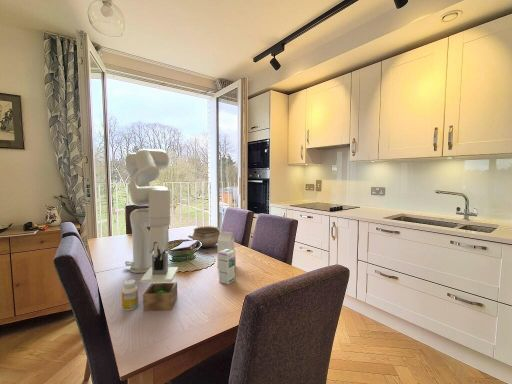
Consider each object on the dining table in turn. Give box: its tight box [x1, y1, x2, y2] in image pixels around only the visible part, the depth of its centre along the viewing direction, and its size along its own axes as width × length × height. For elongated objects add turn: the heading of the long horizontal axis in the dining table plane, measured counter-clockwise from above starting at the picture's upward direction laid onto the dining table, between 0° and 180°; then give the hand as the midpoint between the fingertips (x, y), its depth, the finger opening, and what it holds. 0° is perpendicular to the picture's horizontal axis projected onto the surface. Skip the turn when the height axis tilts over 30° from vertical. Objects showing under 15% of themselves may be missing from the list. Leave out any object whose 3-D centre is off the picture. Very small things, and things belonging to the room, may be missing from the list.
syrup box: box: [218, 249, 237, 285], centre depth 115 cm, size 6×6×14 cm
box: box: [142, 281, 178, 312], centre depth 95 cm, size 10×10×6 cm
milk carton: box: [217, 231, 235, 269], centre depth 132 cm, size 7×7×19 cm
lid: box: [139, 252, 179, 283], centre depth 95 cm, size 11×11×8 cm
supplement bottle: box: [121, 279, 139, 311], centre depth 92 cm, size 5×5×10 cm
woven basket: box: [187, 225, 221, 249], centre depth 168 cm, size 25×19×12 cm
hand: (160, 267), depth 95 cm, fingers closed on lid, 3 cm apart
